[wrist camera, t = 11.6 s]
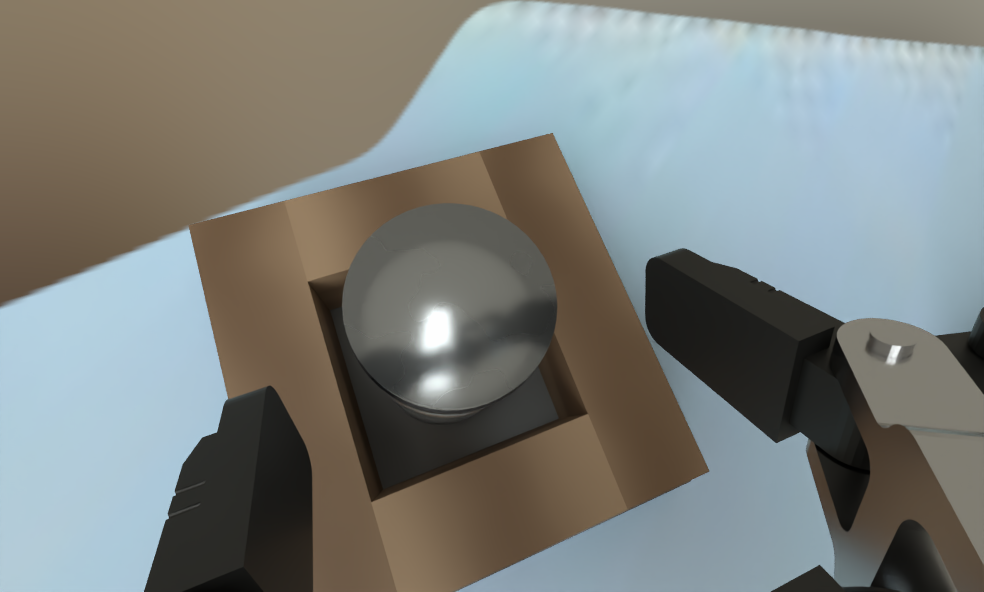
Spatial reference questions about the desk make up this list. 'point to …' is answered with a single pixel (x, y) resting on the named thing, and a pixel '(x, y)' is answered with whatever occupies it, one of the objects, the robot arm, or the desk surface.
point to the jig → (467, 444)
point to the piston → (449, 310)
